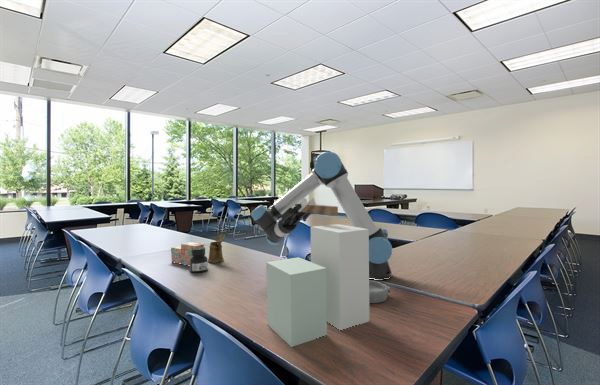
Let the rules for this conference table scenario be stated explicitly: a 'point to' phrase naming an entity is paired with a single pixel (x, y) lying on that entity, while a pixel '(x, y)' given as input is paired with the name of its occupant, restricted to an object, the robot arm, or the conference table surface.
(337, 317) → the off-white rectangular block
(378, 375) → the conference table surface
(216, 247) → the brown burlap sack
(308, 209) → the walnut bar
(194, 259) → the ink bottle
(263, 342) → the conference table surface
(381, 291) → the dish
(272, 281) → the low stand
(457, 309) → the conference table surface
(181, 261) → the stack of blocks
